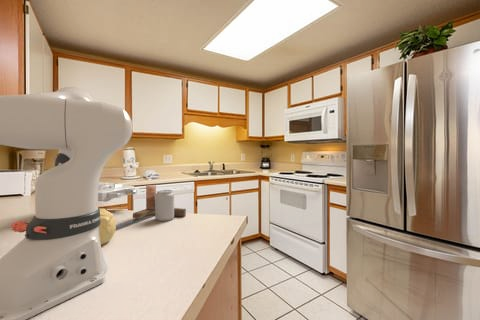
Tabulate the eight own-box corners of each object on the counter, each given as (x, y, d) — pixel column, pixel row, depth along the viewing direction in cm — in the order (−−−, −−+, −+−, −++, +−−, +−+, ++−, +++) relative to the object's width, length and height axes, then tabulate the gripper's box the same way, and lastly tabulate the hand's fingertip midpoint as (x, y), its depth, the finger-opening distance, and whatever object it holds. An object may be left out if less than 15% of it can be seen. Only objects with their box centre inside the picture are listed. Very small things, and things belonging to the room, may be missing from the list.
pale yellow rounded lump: (63, 253, 63) (62, 214, 63) (80, 238, 74) (80, 204, 74) (109, 249, 66) (109, 211, 66) (119, 235, 77) (119, 203, 77)
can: (170, 221, 93) (170, 192, 92) (152, 221, 93) (152, 191, 92) (176, 216, 100) (176, 189, 100) (159, 216, 100) (159, 189, 100)
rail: (108, 233, 79) (108, 230, 79) (103, 232, 79) (103, 229, 79) (160, 213, 105) (160, 211, 105) (156, 213, 106) (156, 210, 106)
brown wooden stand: (166, 224, 88) (166, 190, 88) (131, 220, 93) (131, 188, 93) (185, 215, 101) (185, 186, 100) (154, 212, 106) (154, 184, 106)
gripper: (83, 188, 99) (108, 190, 95) (121, 182, 119) (143, 184, 114) (83, 203, 99) (108, 205, 95) (121, 195, 119) (143, 196, 114)
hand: (128, 193), depth 105 cm, fingers open, 8 cm apart
